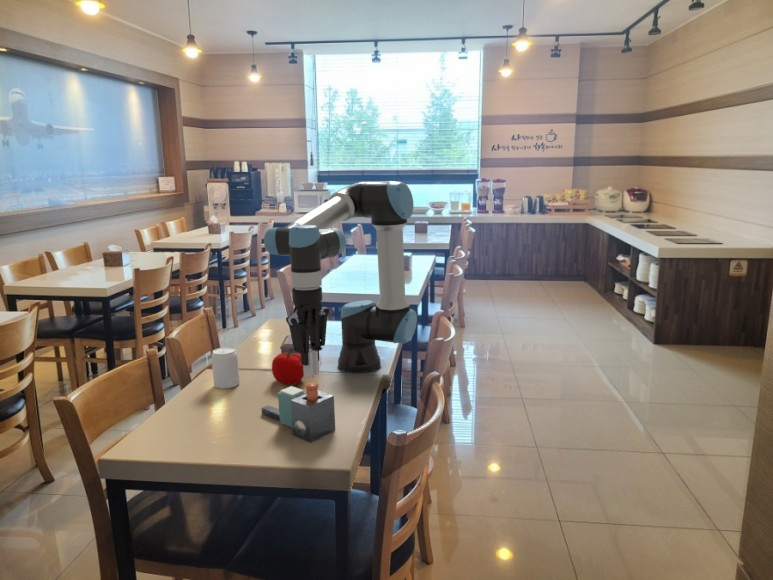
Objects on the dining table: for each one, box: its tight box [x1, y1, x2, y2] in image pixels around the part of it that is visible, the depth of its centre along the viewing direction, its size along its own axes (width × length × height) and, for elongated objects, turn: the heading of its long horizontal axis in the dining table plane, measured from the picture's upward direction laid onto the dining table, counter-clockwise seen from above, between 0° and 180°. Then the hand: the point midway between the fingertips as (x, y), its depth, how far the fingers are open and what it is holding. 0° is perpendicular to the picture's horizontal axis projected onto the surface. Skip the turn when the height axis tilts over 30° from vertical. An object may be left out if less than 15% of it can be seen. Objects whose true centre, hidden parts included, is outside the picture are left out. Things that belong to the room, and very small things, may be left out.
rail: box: [261, 404, 280, 423], centre depth 157 cm, size 2×17×2 cm, turn 51°
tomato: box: [271, 351, 305, 386], centre depth 186 cm, size 11×13×10 cm
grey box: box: [291, 389, 336, 444], centre depth 149 cm, size 9×7×10 cm
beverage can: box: [211, 346, 241, 390], centre depth 183 cm, size 8×8×12 cm
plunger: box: [304, 382, 319, 402], centre depth 148 cm, size 3×3×6 cm
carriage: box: [277, 385, 306, 428], centre depth 154 cm, size 5×6×9 cm
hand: (311, 374), depth 147 cm, fingers closed
